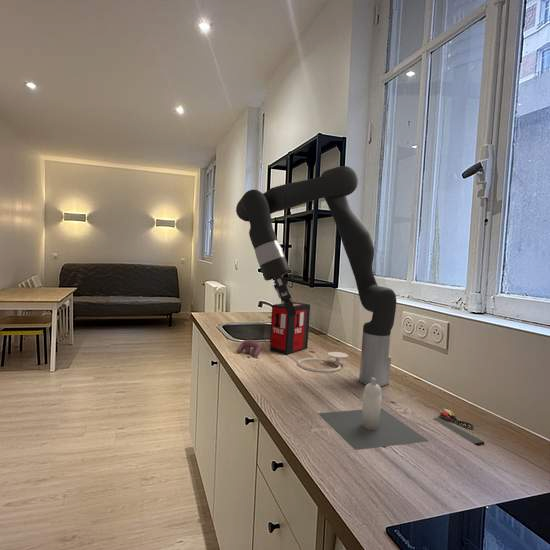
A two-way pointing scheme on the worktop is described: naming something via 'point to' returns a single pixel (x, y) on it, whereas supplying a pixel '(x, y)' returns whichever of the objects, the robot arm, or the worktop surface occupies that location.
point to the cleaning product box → (289, 329)
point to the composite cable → (451, 417)
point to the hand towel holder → (332, 354)
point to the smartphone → (460, 432)
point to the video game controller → (250, 343)
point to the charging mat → (363, 438)
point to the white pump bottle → (371, 405)
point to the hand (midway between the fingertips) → (292, 315)
